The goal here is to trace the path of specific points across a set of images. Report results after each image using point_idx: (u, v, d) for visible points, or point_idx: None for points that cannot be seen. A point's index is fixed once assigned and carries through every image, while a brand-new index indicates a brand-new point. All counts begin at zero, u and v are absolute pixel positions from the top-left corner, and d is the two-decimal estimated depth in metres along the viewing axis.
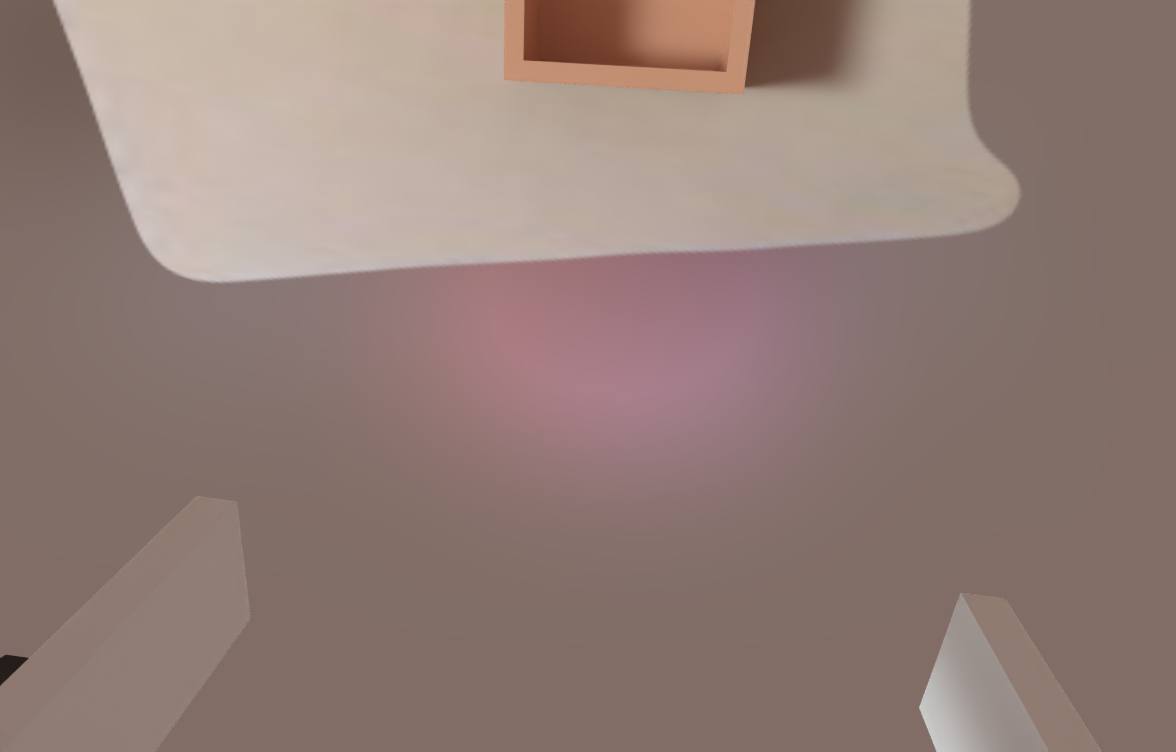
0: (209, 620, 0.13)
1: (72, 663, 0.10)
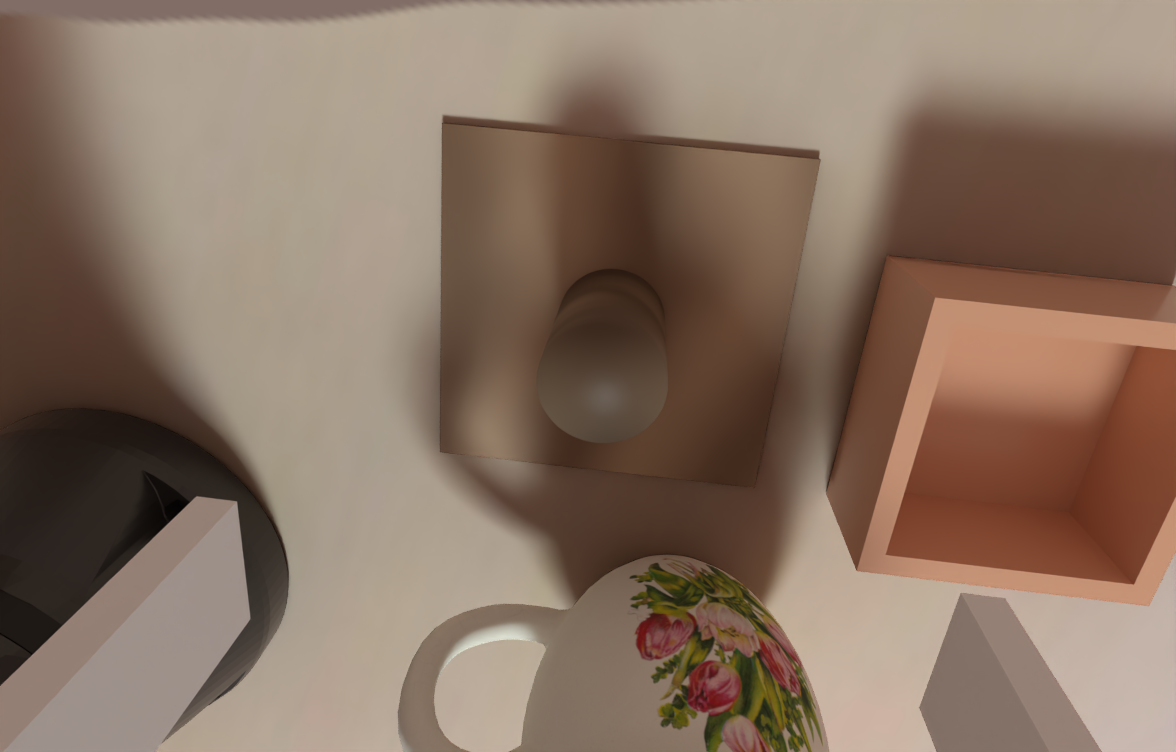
0: (209, 620, 0.13)
1: (72, 663, 0.10)
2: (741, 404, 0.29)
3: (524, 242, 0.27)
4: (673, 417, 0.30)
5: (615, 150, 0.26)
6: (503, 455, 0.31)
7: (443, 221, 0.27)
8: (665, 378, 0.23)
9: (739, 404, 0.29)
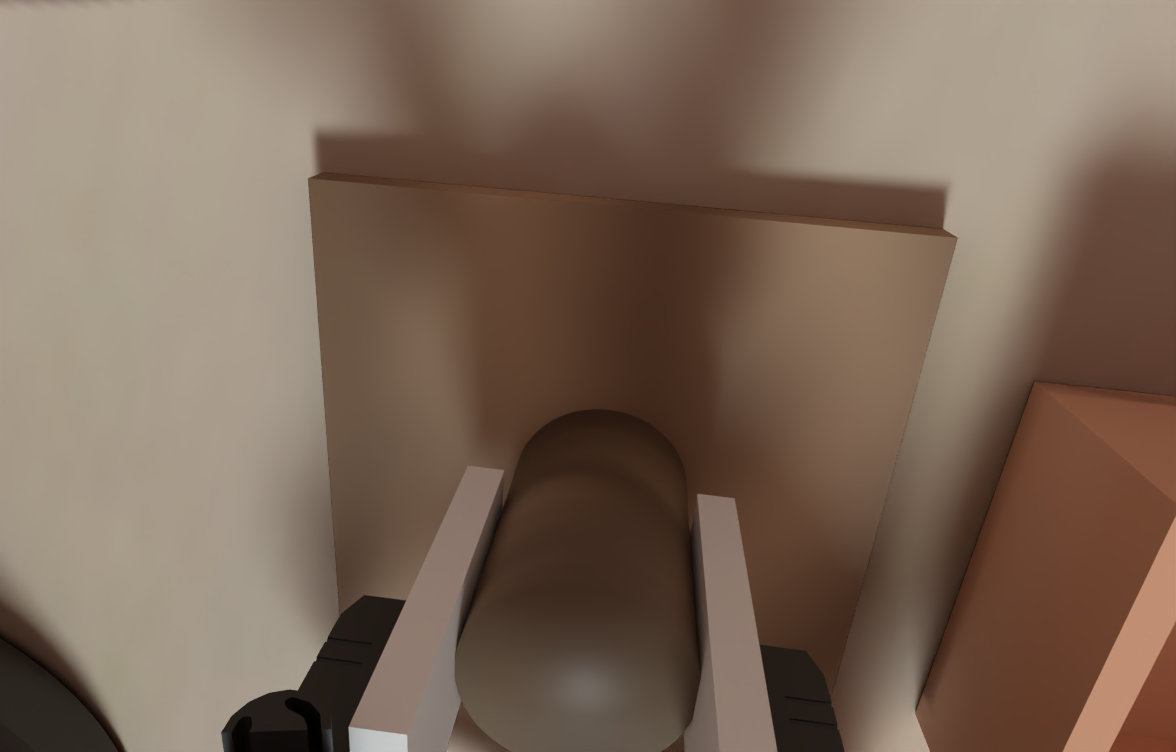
0: None
1: (446, 597, 0.12)
2: (806, 609, 0.19)
3: (455, 367, 0.17)
4: None
5: (602, 222, 0.15)
6: None
7: (322, 335, 0.17)
8: (696, 675, 0.12)
9: (804, 608, 0.19)
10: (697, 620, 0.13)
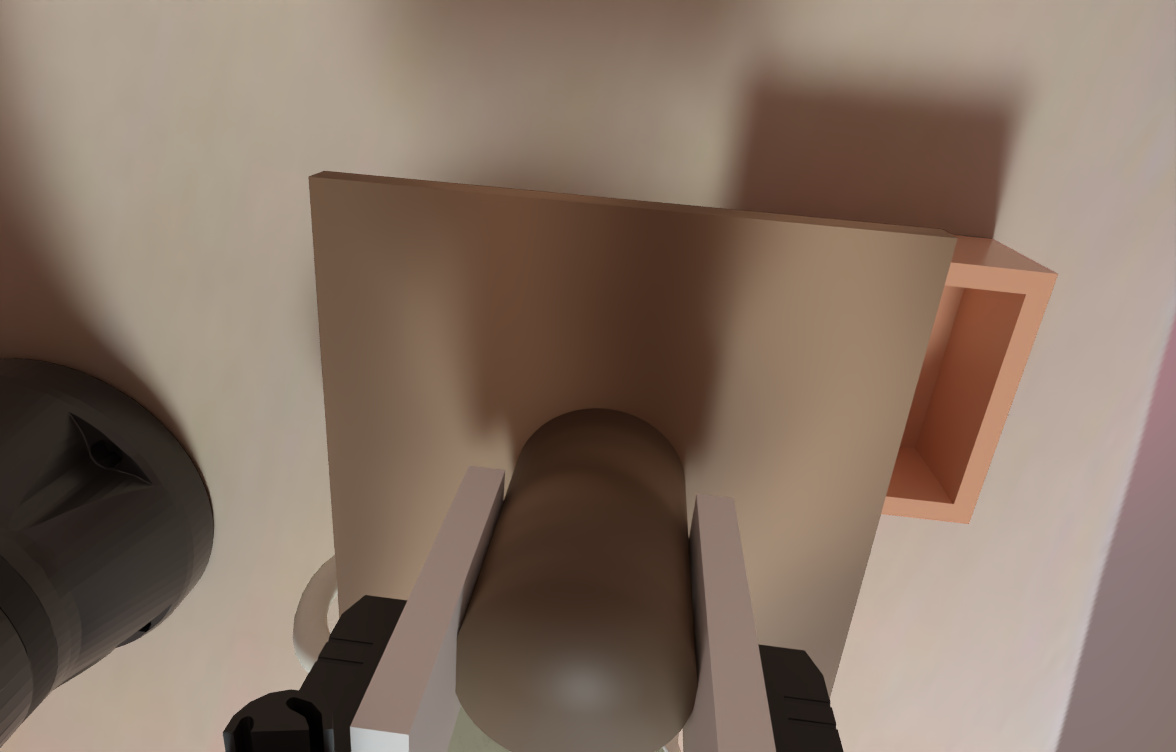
0: None
1: (447, 597, 0.12)
2: (805, 609, 0.19)
3: (454, 366, 0.17)
4: None
5: (602, 221, 0.15)
6: None
7: (322, 333, 0.17)
8: (693, 674, 0.12)
9: (803, 609, 0.19)
10: (696, 620, 0.13)
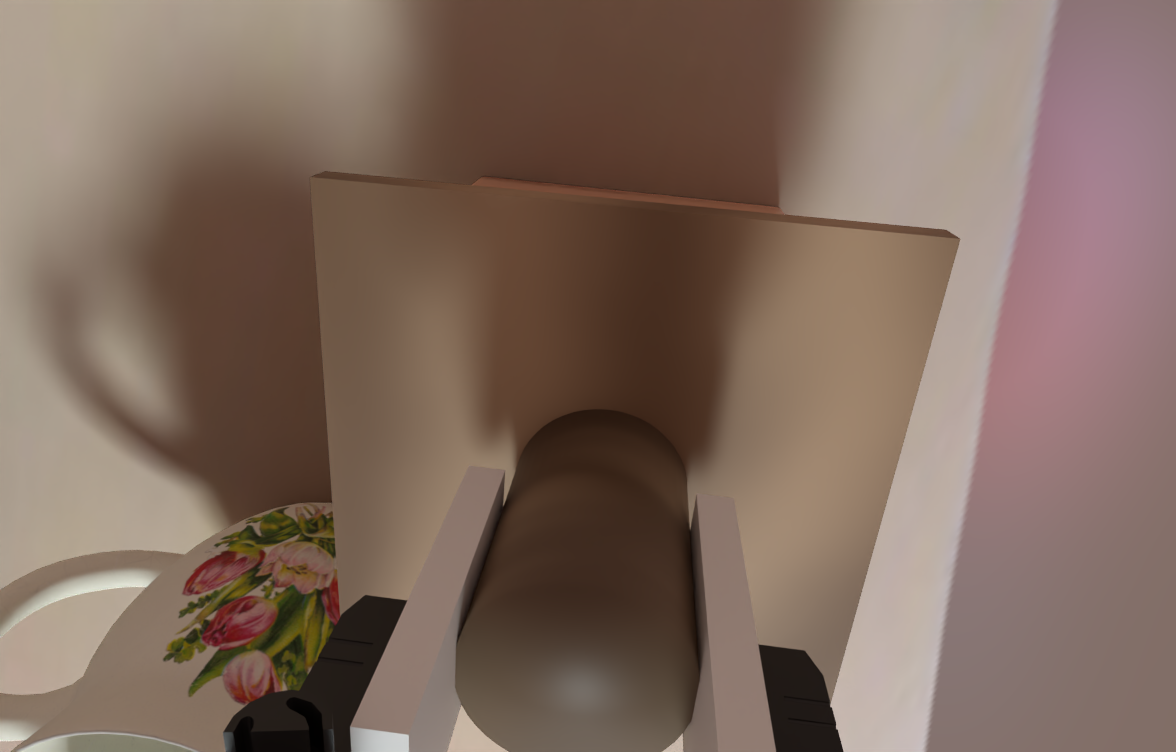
0: None
1: (447, 597, 0.12)
2: (807, 610, 0.19)
3: (456, 366, 0.17)
4: None
5: (603, 221, 0.15)
6: None
7: (323, 333, 0.17)
8: (695, 676, 0.12)
9: (804, 610, 0.19)
10: (696, 620, 0.13)
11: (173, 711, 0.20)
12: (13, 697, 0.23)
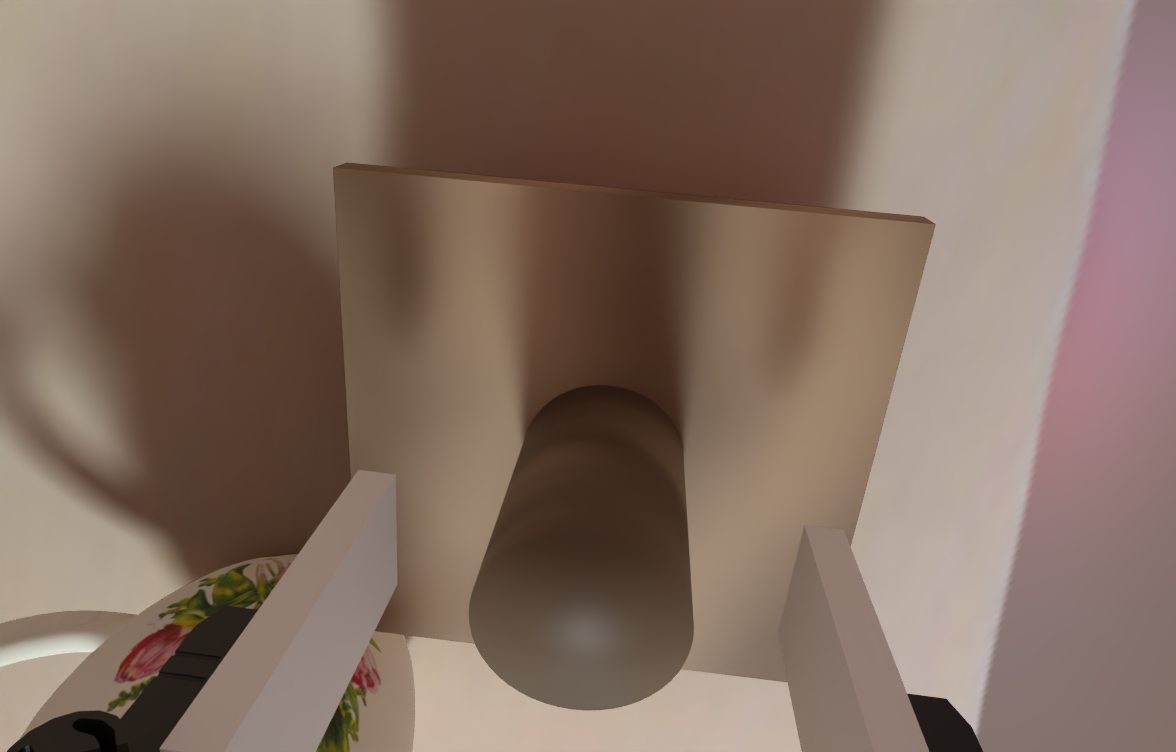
0: (376, 581, 0.14)
1: (300, 609, 0.11)
2: None
3: (468, 345, 0.18)
4: (695, 591, 0.20)
5: (605, 209, 0.16)
6: (449, 635, 0.22)
7: (344, 314, 0.18)
8: (690, 619, 0.13)
9: None
10: (822, 664, 0.12)
11: None
12: None
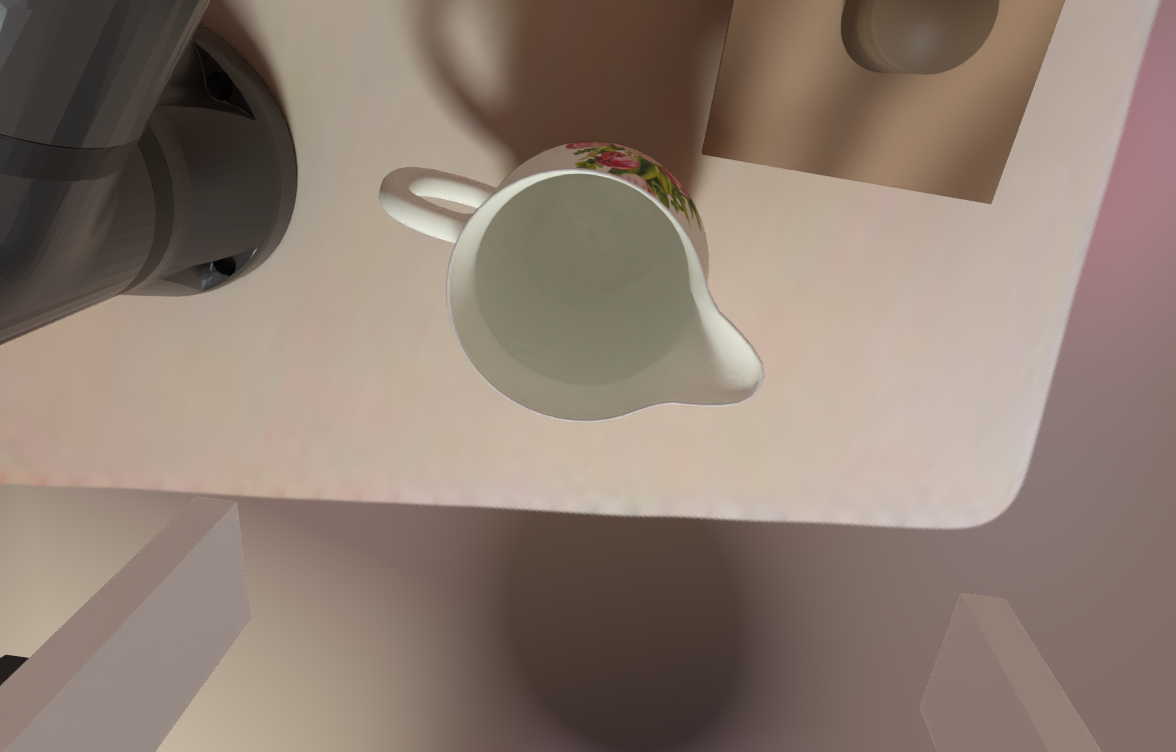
0: (209, 620, 0.13)
1: (72, 663, 0.10)
2: (994, 114, 0.32)
3: None
4: (929, 125, 0.33)
5: None
6: (761, 160, 0.34)
7: None
8: (996, 6, 0.26)
9: (993, 114, 0.32)
10: None
11: (606, 176, 0.29)
12: None
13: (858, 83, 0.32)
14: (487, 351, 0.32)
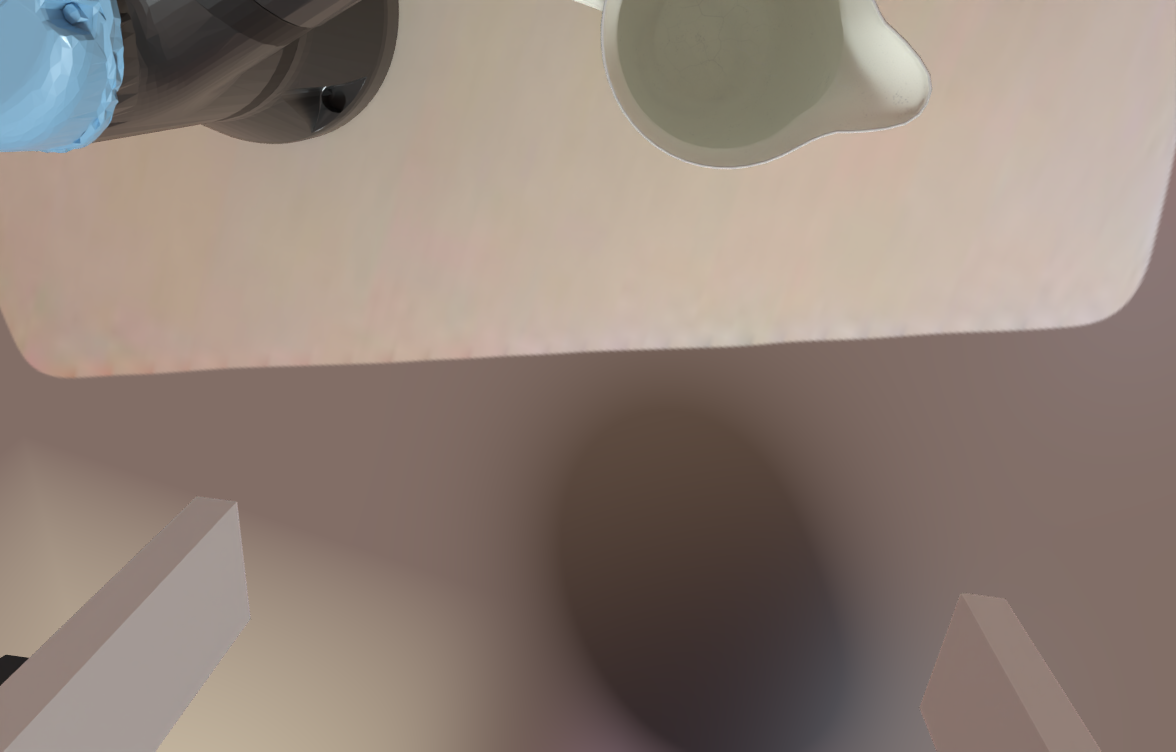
0: (209, 620, 0.13)
1: (72, 663, 0.10)
2: None
3: None
4: None
5: None
6: None
7: None
8: None
9: None
10: None
11: None
12: None
13: None
14: (635, 111, 0.32)
